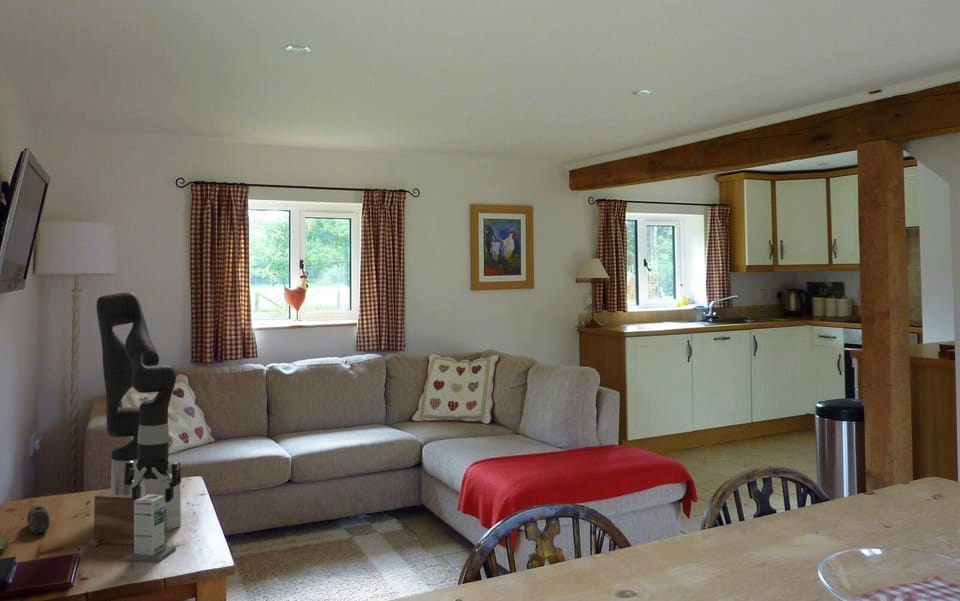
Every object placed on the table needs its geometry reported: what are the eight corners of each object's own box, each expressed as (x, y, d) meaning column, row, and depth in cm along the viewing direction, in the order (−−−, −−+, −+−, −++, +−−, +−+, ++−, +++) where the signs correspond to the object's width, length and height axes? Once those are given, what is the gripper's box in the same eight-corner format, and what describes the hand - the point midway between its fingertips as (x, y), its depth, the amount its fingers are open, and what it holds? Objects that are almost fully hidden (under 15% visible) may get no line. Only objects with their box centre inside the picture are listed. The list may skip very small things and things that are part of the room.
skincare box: (181, 526, 212) (182, 474, 212) (163, 533, 206) (164, 479, 206) (161, 522, 215) (162, 471, 215) (142, 528, 209) (143, 476, 209)
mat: (143, 548, 193) (143, 545, 193) (175, 549, 192) (175, 546, 192) (125, 560, 184) (125, 557, 184) (158, 562, 183) (158, 558, 183)
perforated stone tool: (25, 524, 212) (25, 501, 212) (45, 521, 216) (46, 498, 216) (28, 538, 200) (28, 513, 200) (50, 534, 203) (50, 510, 203)
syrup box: (153, 556, 185) (154, 500, 185) (132, 554, 186) (133, 499, 186) (166, 548, 191) (167, 494, 191) (146, 547, 192) (147, 493, 192)
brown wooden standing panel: (102, 538, 201) (103, 492, 201) (163, 540, 200) (164, 494, 200) (89, 545, 195) (90, 498, 195) (152, 547, 194) (153, 500, 194)
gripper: (186, 438, 192) (185, 498, 192) (135, 436, 192) (134, 496, 192) (172, 444, 184) (171, 506, 184) (119, 442, 185) (118, 504, 185)
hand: (152, 501), depth 188 cm, fingers open, 8 cm apart
